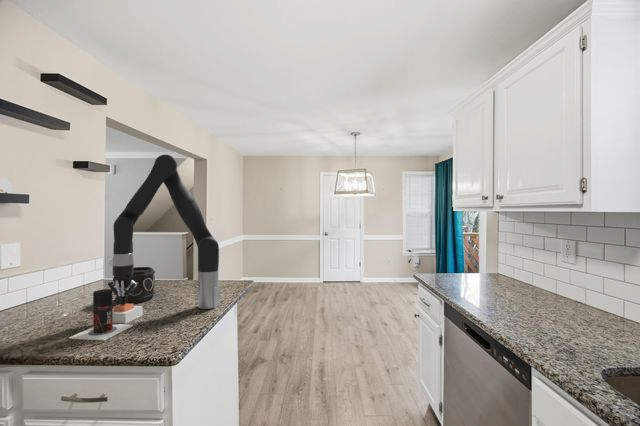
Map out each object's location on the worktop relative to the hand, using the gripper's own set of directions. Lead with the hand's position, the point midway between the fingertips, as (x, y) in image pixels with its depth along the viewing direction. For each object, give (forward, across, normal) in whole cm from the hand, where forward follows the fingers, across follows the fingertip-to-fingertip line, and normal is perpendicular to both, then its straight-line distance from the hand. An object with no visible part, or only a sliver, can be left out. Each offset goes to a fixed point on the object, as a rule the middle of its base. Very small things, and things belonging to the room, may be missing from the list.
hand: (123, 304), depth 130 cm
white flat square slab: (+6, -3, +14) cm, 16 cm away
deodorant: (+6, -3, +14) cm, 15 cm away
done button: (+3, 0, 0) cm, 3 cm away
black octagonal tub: (+6, +15, -27) cm, 31 cm away
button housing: (+6, 0, 0) cm, 6 cm away
